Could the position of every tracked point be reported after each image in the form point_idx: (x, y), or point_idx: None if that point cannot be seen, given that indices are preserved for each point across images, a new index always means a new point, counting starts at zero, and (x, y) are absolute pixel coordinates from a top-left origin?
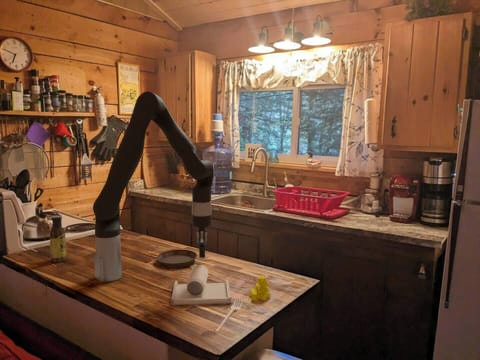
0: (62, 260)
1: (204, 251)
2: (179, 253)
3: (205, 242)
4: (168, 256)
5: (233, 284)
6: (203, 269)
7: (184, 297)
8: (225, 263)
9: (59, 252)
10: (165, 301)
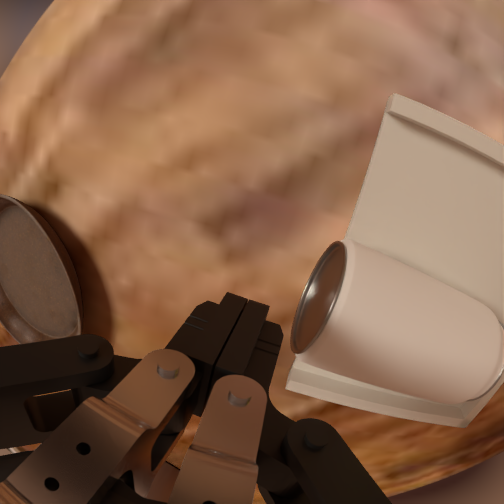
0: None
1: (253, 352)
2: None
3: (255, 474)
4: (4, 290)
5: (404, 70)
6: (401, 321)
7: None
8: (75, 48)
9: None
10: (420, 424)
